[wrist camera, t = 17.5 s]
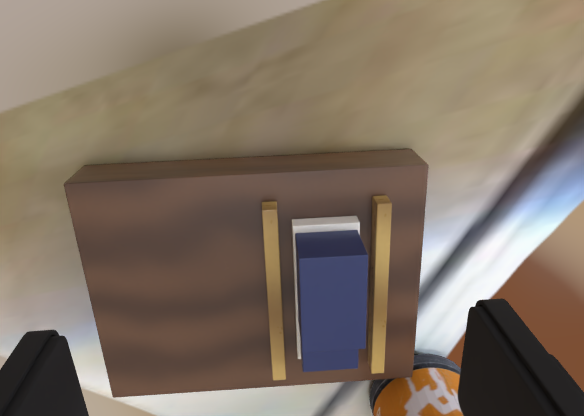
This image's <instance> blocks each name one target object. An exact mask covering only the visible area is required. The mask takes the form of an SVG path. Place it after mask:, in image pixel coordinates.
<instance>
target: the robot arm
mask: <svg viewBox="0 0 584 416" xmlns="http://www.w3.org/2000/svg"><path fill="white" fill-rule="evenodd" d="M458 402H459V406H460V409H461V411H462V413H463V415H464V416H584V392H583V391H582V390H581V388H580V387H579V386H578V385H577V384H576V382H575V381H574V380H573V379H572V377H571V376H570V375H569V374H568V372H567V371H566V370H565V369H564V368H563V367H562V365H561V364H560V363H559V361H558V360H557V359H556V358H555V357H554V356H553V355H551V354H549V353H548V352H547V351H546V350H545V348H544V347H543V346H542V345H541V343H540V342H539V341H538V340H537V338H536V337H535V336H534V335H533V333H532V332H531V331H530V330H529V328H528V327H527V326H526V325H525V323H524V322H523V321H522V320H521V318H520V317H519V316H518V315H517V313H516V312H515V311H514V310H513V308H512V307H511V306H510V305H509V303H508V302H507V301H506V300H504V299H489V300H479V301H477V303H476V306H475V307H471V308H470V309H469V313H468V320H467V327H466V334H465V342H464V350H463V357H462V364H461V371H460V378H459V386H458ZM0 416H89V415H88V411H87V408H86V404H85V401H84V398H83V394H82V391H81V387H80V384H79V380H78V377H77V373H76V370H75V366H74V363H73V359H72V356H71V353H70V349H69V346H68V342H67V339H66V338H65V336H59V334H58V332H57V331H56V330H44V331H30V332H27V333H26V334H25V335H24V336H23V337H22V339H21V340H20V342H19V343H18V345H17V346H16V348H15V349H14V350H13V352H12V353H11V355H10V356H9V358H8V359H7V361H6V362H5V364H4V365H3V367H2V368H1V370H0Z"/></svg>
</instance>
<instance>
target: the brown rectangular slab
mask: <svg viewBox="0 0 584 416" xmlns="http://www.w3.org/2000/svg"><path fill="white" fill-rule="evenodd" d="M427 178H428V164H427V163H426V162H425V161H424V160H423V159H422V158H421V157H420V156H418V155H417V154H416V153H415V152H414V151H413V150H412V149H401V150H381V151H361V152H341V153H321V154H301V155H281V156H261V157H241V158H221V159H201V160H181V161H162V162H142V163H122V164H102V165H85V166H83V167H82V168H81V169H80V170H79V171H78V172H77V173H75V174H74V175H73V176H72V177H71V178H70V179H69V180H67V181H66V182H65V183H64V187H65V192H66V196H67V200H68V205H69V209H70V213H71V218H72V222H73V226H74V231H75V235H76V239H77V244H78V248H79V252H80V257H81V261H82V265H83V270H84V274H85V278H86V283H87V287H88V291H89V296H90V300H91V304H92V309H93V313H94V317H95V322H96V326H97V330H98V335H99V339H100V343H101V347H102V352H103V356H104V360H105V365H106V369H107V373H108V378H109V382H110V386H111V391H112V395H113V397H128V396H142V395H157V394H172V393H187V392H201V391H216V390H231V389H246V388H260V387H275V386H290V385H304V384H319V383H334V382H349V381H363V380H378V379H393V378H408V377H412V375H413V362H414V349H415V336H416V323H417V310H418V297H419V284H420V270H421V257H422V244H423V231H424V218H425V205H426V192H427ZM342 216H357V218H358V220H359V222H360V237H361V240H362V242H363V244H364V247H365V249H366V251H367V254H368V278H367V314H366V348H365V349H359V354H358V368H357V369H343V370H328V371H313V372H303V369H302V360H301V359H298V356H297V342H296V317H295V292H294V267H293V242H292V219H306V218H324V217H342Z"/></svg>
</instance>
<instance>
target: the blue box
mask: <svg viewBox="0 0 584 416" xmlns="http://www.w3.org/2000/svg"><path fill="white" fill-rule="evenodd" d="M292 242H293V267H294V292H295V317H296V342H297V356H298V359H301V360H302V369H303V372H313V371H328V370H343V369H357V368H358V354H359V349H365V348H366V314H367V278H368V254H367V251H366V249H365V247H364V244H363V242H362V240H361V237H360V222H359V220H358V218H357V216H342V217H324V218H306V219H292Z"/></svg>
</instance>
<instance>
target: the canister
mask: <svg viewBox="0 0 584 416" xmlns="http://www.w3.org/2000/svg"><path fill="white" fill-rule="evenodd" d="M460 371H461V369H460V368H459V367H458V366H457V365H456V364H455V363H454V362H452V361H450V360H449V359H447V358H444V357H441V356H437V355H430V354H422V355H414V362H413V375H412V377H408V378H393V379H378V380H375V381H374V383H373V385H372V388H371V391H370V406H371V409H372V413H373V416H464V415H463V413H462V411H461V409H460V406H459V402H458V386H459V378H460Z"/></svg>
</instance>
